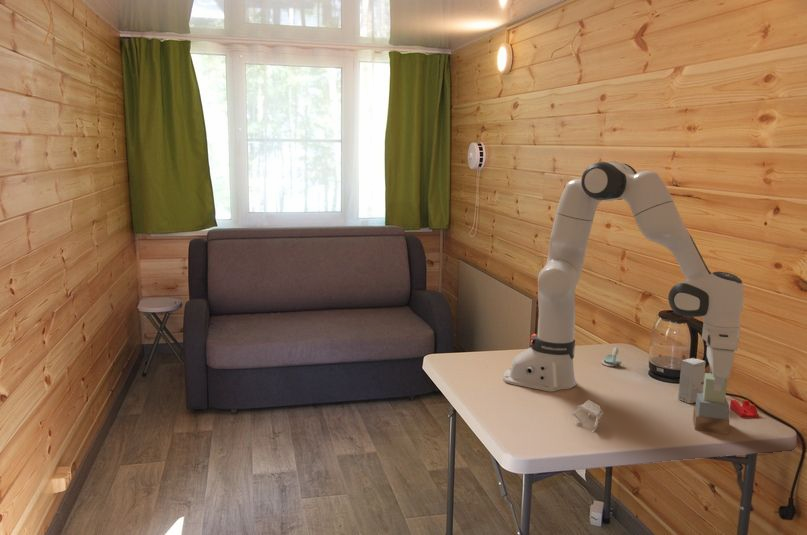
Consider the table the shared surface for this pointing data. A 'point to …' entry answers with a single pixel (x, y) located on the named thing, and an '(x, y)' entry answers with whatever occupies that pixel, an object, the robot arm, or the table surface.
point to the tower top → (711, 408)
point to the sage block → (709, 392)
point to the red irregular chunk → (744, 409)
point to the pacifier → (612, 358)
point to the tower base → (710, 424)
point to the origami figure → (590, 408)
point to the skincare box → (691, 379)
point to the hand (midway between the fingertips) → (714, 384)
